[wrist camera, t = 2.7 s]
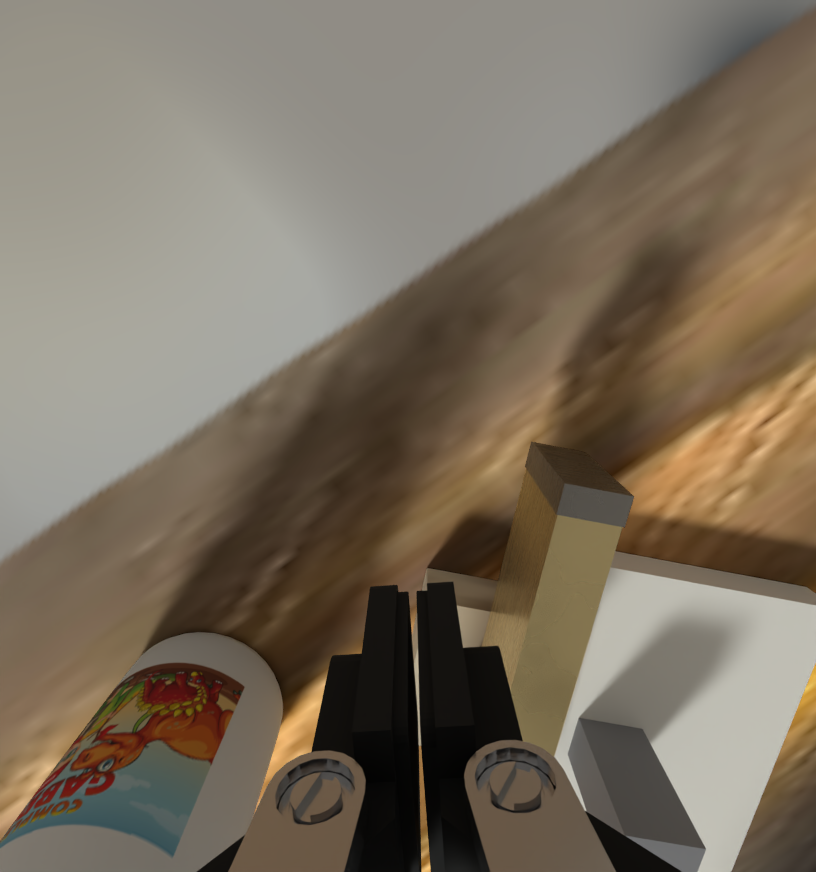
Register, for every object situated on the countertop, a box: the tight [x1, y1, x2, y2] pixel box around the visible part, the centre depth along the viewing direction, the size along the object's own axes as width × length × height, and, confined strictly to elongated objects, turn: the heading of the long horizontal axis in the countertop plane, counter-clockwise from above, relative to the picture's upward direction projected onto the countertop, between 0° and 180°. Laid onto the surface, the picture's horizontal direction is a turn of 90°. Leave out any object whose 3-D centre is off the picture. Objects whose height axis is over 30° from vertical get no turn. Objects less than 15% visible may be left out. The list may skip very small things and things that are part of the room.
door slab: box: [555, 551, 816, 872], centre depth 25 cm, size 10×15×8 cm
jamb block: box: [412, 568, 592, 757], centre depth 27 cm, size 7×7×3 cm
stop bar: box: [482, 442, 634, 756], centre depth 21 cm, size 13×3×5 cm, turn 169°
